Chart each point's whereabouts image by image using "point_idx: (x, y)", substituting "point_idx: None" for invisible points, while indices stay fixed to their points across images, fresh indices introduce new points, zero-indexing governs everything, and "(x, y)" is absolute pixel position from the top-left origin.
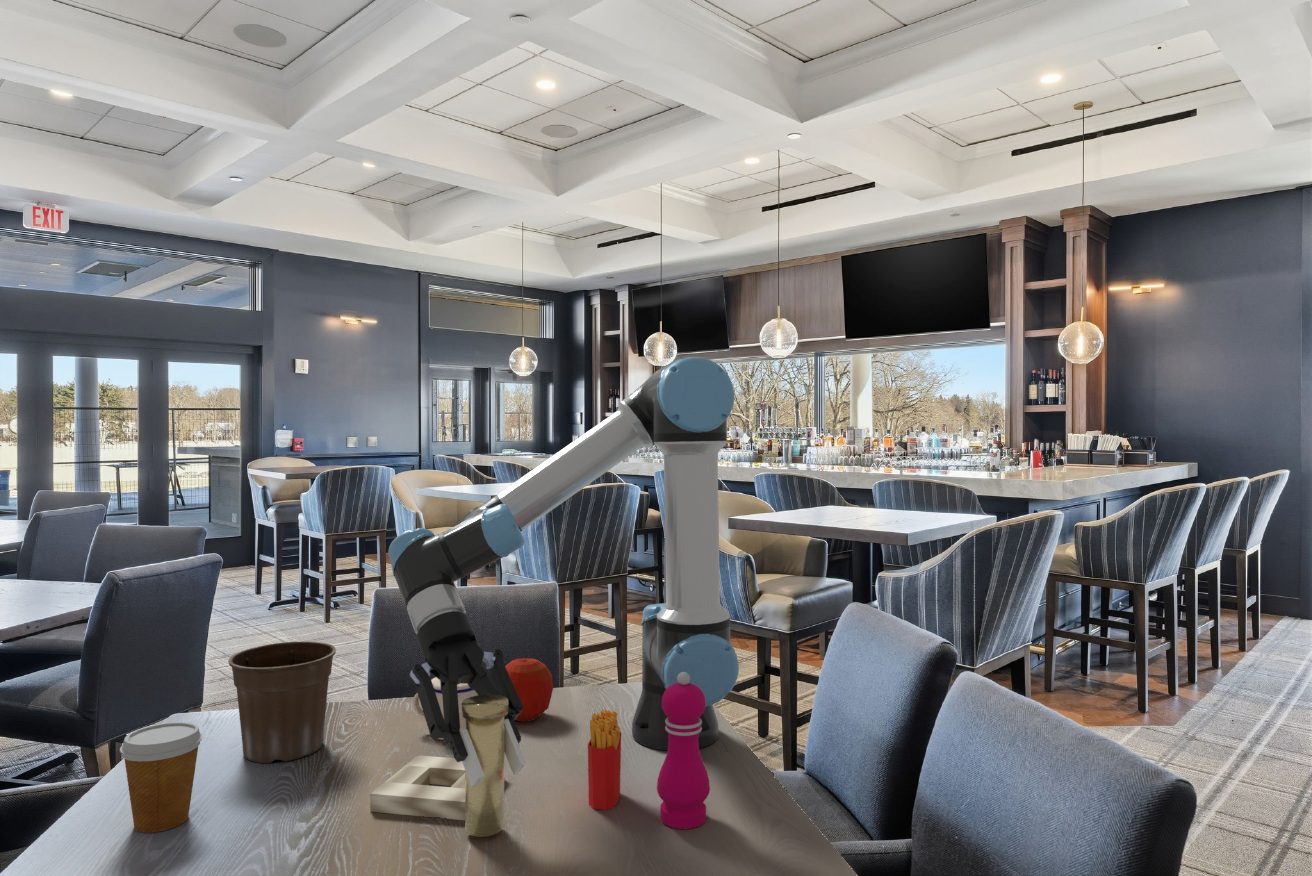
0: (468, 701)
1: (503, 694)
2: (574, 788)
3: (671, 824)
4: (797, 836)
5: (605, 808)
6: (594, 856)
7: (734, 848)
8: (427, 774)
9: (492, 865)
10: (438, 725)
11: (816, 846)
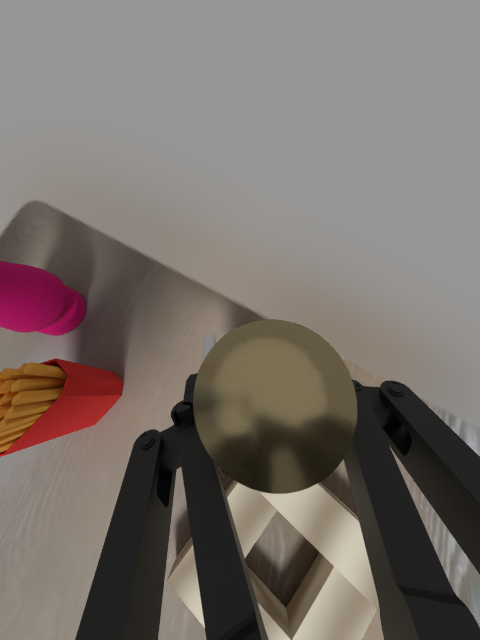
0: (329, 432)
1: (158, 538)
2: (108, 454)
3: (83, 300)
4: (12, 238)
5: (112, 372)
6: (177, 289)
7: (69, 246)
8: (295, 619)
9: (267, 318)
10: (404, 390)
11: (15, 220)
